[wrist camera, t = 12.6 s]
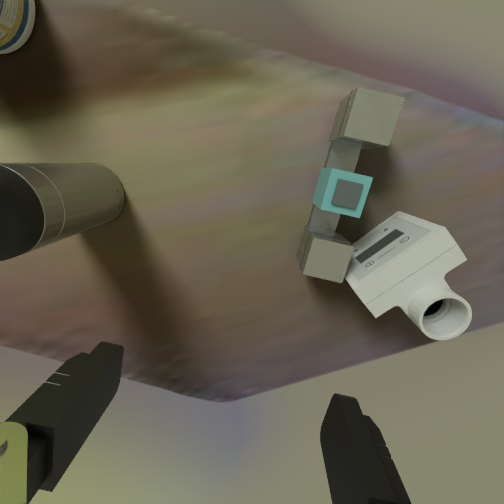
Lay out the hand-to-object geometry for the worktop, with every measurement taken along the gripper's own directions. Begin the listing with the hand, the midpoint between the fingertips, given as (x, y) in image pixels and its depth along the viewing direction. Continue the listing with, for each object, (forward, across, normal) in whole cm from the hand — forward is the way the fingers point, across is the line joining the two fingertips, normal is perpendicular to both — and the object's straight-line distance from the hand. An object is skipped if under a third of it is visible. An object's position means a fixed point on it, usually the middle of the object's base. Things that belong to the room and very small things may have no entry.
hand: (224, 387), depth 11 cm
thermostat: (+36, -22, +3) cm, 43 cm away
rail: (+36, -10, -7) cm, 38 cm away
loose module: (+35, -10, -7) cm, 37 cm away
